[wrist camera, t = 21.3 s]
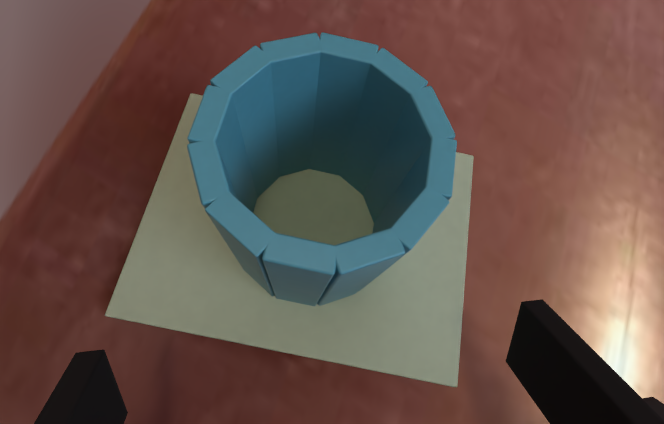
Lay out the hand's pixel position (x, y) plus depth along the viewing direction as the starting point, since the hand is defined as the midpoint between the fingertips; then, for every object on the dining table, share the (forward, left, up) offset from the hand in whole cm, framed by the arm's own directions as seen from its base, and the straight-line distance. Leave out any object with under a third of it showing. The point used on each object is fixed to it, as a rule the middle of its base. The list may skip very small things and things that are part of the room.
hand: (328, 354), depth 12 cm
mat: (-1, +6, -6) cm, 8 cm away
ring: (-1, +6, -5) cm, 8 cm away
